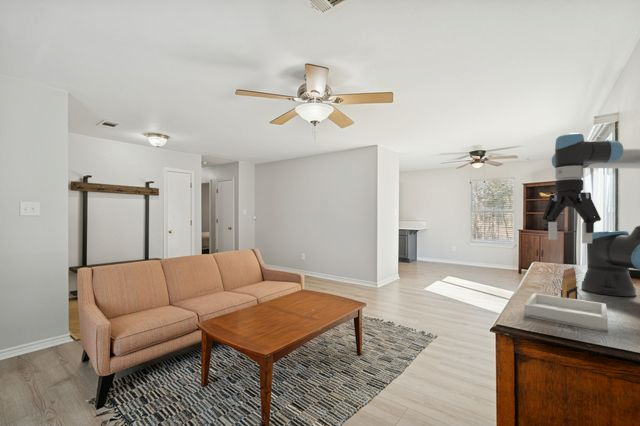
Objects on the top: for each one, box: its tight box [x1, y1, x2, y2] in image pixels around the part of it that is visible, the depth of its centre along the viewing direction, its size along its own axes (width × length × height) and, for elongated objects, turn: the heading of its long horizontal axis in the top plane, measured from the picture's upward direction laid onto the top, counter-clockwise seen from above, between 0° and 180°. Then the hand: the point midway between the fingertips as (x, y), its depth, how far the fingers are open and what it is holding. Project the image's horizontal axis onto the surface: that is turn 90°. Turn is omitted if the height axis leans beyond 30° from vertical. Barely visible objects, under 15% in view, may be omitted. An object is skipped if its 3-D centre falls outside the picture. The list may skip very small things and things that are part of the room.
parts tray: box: [523, 292, 609, 333], centre depth 91 cm, size 18×18×4 cm
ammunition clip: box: [560, 266, 578, 300], centre depth 104 cm, size 11×2×12 cm, turn 126°
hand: (568, 241), depth 104 cm, fingers open, 13 cm apart
